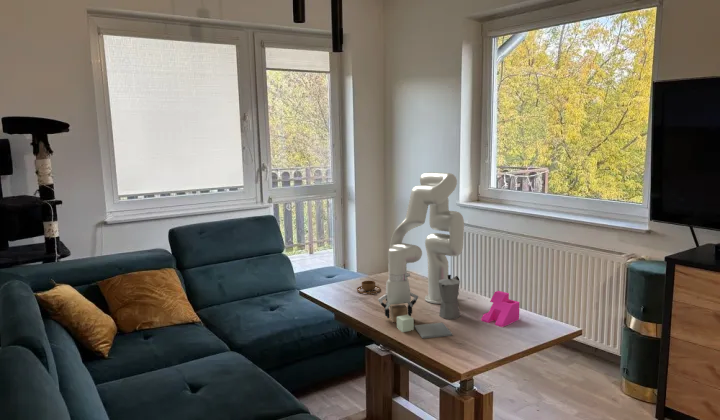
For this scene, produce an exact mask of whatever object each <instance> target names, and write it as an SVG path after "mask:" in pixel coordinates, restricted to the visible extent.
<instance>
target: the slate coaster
mask: <svg viewBox="0 0 720 420" xmlns="http://www.w3.org/2000/svg"><path fill="white" fill-rule="evenodd" d="M414 329H415V331H416V332H417V333H418V334H419V335H420V337H421V339H432V338H441V337H451V336H453V333H452V331H451V330H450V329H449V328H448V327H447V326H446V324H444V322H435V323H434V322H432V323H424V324H414Z"/></svg>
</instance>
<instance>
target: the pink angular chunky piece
mask: <svg viewBox="0 0 720 420" xmlns="http://www.w3.org/2000/svg"><path fill="white" fill-rule="evenodd" d="M509 294H510V293H509V292H505V291H501V290H496V291H494V293H493V295H492V297H491V299H490V301H489V302H490V303H492V305H491V306H490V309H489V311H488V312H486V313H483V315H482V317H481V318H480V321H481V322H484V323H487V324H488V323H490V322H491V323H492V322H493V321H495V323H494V325H495V326H496V327H500V328H503V327H504V328H505V326H508V325H510V324H511V325H512V323H515V322H517V321H519V320H520V301H517V300H512V299H510V295H509Z"/></svg>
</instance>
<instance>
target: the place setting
mask: <svg viewBox="0 0 720 420" xmlns="http://www.w3.org/2000/svg"><path fill="white" fill-rule="evenodd" d="M361 287H362V290H363V291H362V290H358V289H359V288H361ZM375 287H377V288H379V289H377V288H375ZM375 289H377V290H375ZM372 290H374V291H372ZM356 291H357V292H358V293H359V292H360V293H359V294H361V293H367V294H366V295H372V294H371V293H375V294H377V293H376V292H378V293H380V292H381V287H380V285H376V281H375V280H363V281H361V285H360V286H358V287H357V288H356ZM366 291H371V292H366Z"/></svg>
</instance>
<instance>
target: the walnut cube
mask: <svg viewBox="0 0 720 420" xmlns="http://www.w3.org/2000/svg"><path fill="white" fill-rule="evenodd" d="M402 315H408V306H406V303H403V304H391V305H390V306H389V318H390V317H391V318H390V320H391V319H392V320H391V321H392V323H393V322H396V323H397V316H402Z"/></svg>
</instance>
